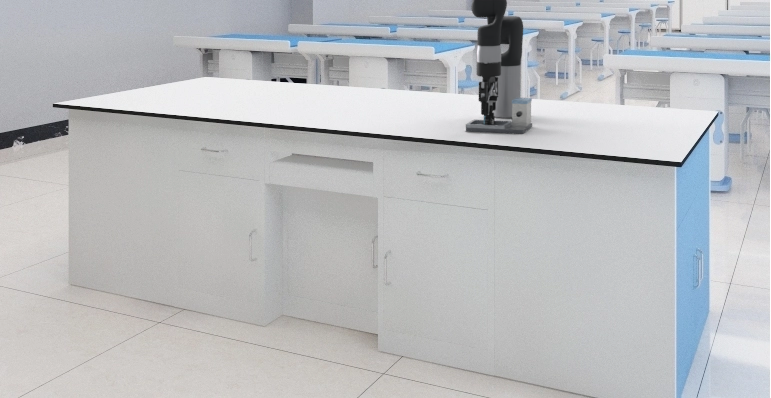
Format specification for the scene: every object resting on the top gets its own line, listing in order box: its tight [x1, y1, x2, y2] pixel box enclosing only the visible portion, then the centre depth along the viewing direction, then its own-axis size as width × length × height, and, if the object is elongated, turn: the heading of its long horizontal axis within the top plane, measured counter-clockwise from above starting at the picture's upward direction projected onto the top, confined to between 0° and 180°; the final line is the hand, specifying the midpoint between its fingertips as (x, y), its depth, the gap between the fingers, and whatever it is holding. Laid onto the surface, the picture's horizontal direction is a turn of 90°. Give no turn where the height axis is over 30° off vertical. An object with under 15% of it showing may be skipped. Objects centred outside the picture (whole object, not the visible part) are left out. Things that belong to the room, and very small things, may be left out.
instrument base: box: [465, 97, 533, 135], centre depth 290 cm, size 13×18×9 cm
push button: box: [482, 92, 498, 125], centre depth 289 cm, size 7×5×10 cm
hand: (488, 112), depth 289 cm, fingers open, 8 cm apart
